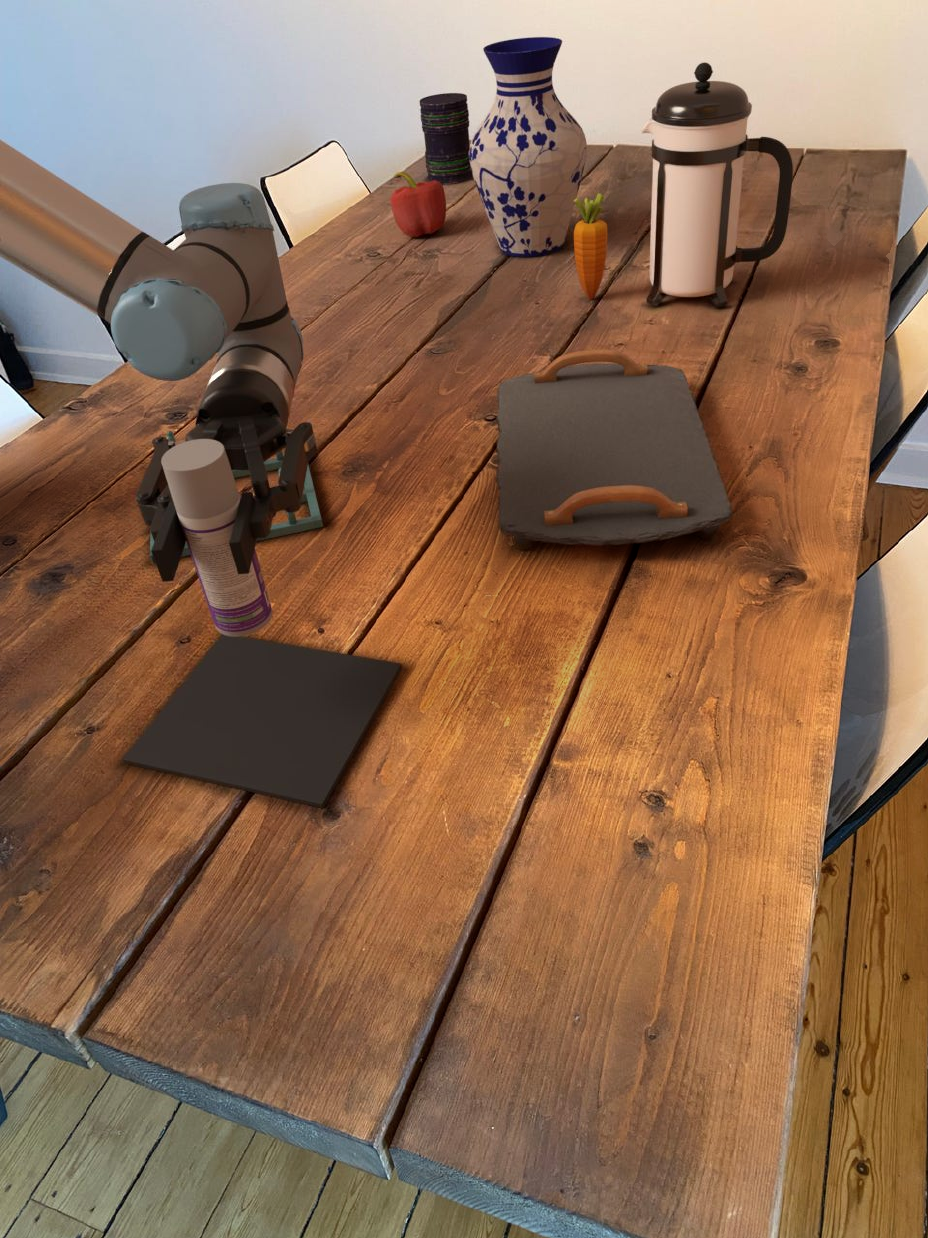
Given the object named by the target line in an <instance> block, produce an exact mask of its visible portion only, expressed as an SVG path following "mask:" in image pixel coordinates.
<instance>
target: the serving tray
mask: <svg viewBox="0 0 928 1238" xmlns="http://www.w3.org/2000/svg"><path fill="white" fill-rule="evenodd" d="M495 421H496V424H497V429H498V437H497V440H496V448H495V451H496V455H497V461H496V462H497V469H496V474H495V483H496V485H497V488H498V495H497V498H498V503H497V504H498V509H497V511H498V514H497V515H498V517H497V519H498V521H497V522H498V528H499V532H500V533H502V534H503V535H506V536H509V537H512V542H513V545H514V546H515V547H516V549H517V550H518V551H520V552H527V551H529V550H530V549H531V548H532V546H533V545H534V543H535V542H543V543H548V544H549V543H550V544H559V545H579V546H589V547H590V546H592V547H597V546H599V547H600V546H614V545H615V546H617V545H618V546H619V545H632V544H645V543H650V542H655V541H657V542H658V541H659V542H660V541H663V540H667V539H672V538H673V539H674V538H678V537H680V536H684V535H686V536H687V535H690V534H693V533H697V534H698V535H699V538H700V539H702V540H705V541H711V540H713V539H714V537H715V536H716V535H717V534H718V532H719V530H720V527H719V526H720V525H722V524H725V523H727V522H729V521H731V520H732V519H733V509H732V504H731V502H730V499H729V497H728V494H727V489H726V486H725V484H724V481H723V479H722V475H721V472H720V467H719V466H718V464H717V461H716V459H715V455H714V453H713V449H712V446H711V444H710V440H709V439H708V434H707V431H706V429H705V425H704V423H703V421H702V417H701V414H700V412H699V411H698V408H697V403H696V401H695V399H694V396H693V393H692V391H691V388H690V384H689V381H688V380H687V376H686V374H685V372H684V370H682V369H681V368H676V367H674V366H670V365H665V364H664V365H659V364H647V363H636V362H635V361H634V360H633V359H632V358H631V357H629V356H628V355H627V354H625V353H624V352H622V351H619V350H615V349H606V348H605V349H604V348H603V349H600V348H599V349H585V350H584V349H583V350H576V351H572V352H568V353H564V354H562V355H560V356H558V357H556V358H555V359H554V360H553V361H551V363H549V364H548V365H547V366H546V368H545V369H542V370H538V371H534V372H531V373H527V374H522V375H520V376H512V377H510V378H507V379H505V380H503V381H501V382H499V385H498V387H497V415H496V419H495Z"/></svg>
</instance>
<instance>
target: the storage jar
mask: <svg viewBox="0 0 928 1238" xmlns="http://www.w3.org/2000/svg"><path fill="white" fill-rule="evenodd" d="M418 102H419V107H420V111H419V112H420V122H421V130H422V132H423V137H424V144H425V145H424V146H425V152H424V157H425V168H426V173H427V181H428V182H430V181H434V180H435V181H438V182H440V183H441V184H442V185H453V184H458V183H463V182H466V181H469V180H471V179H472V178H474V177H473V174H472V170H471V165H470V158H469V149H470V144H471V142H470V132H469V127H470V118H469V117H470V112H469V106H468V95H467V94H465V93H460V92H446V93H445V92H443V93H438V94H432V95H428V96H425V97H422V98H420V99H419V101H418Z"/></svg>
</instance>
